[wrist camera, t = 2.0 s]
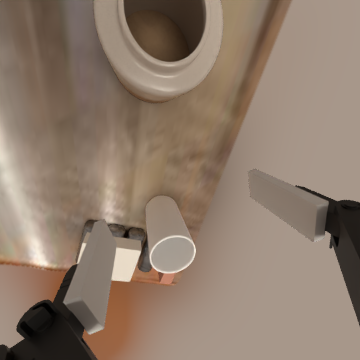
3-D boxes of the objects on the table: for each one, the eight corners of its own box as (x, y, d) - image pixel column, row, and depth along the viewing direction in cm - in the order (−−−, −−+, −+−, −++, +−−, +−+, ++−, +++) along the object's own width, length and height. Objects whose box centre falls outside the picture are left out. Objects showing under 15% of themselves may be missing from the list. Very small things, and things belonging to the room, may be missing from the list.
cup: (138, 206, 43) (140, 253, 28) (167, 189, 43) (183, 227, 29) (155, 228, 46) (164, 280, 32) (182, 212, 46) (203, 257, 32)
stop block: (156, 261, 50) (159, 283, 44) (168, 233, 48) (173, 251, 41) (166, 262, 51) (170, 284, 45) (178, 235, 49) (184, 253, 42)
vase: (202, 35, 34) (257, -31, 18) (176, 114, 38) (204, 114, 22) (122, -12, 29) (105, -156, 13) (102, 84, 33) (72, 58, 17)
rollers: (78, 252, 43) (73, 265, 40) (87, 219, 41) (82, 229, 37) (151, 261, 50) (152, 272, 46) (162, 232, 47) (164, 242, 44)
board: (78, 264, 40) (73, 277, 37) (87, 232, 38) (82, 242, 34) (130, 269, 44) (129, 281, 41) (140, 240, 42) (141, 251, 38)
